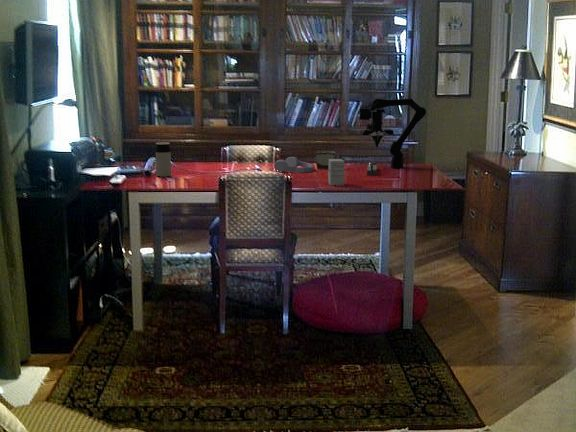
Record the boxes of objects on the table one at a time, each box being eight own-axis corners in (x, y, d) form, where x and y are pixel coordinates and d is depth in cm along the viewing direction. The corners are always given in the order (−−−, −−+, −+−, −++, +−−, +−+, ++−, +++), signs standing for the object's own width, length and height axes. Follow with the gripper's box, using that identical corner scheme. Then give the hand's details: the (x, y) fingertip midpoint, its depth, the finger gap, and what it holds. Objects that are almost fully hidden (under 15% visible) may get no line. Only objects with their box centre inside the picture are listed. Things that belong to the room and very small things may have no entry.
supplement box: (327, 183, 410) (328, 159, 408) (342, 183, 411) (342, 158, 409) (329, 185, 403) (330, 160, 401) (344, 185, 404) (344, 160, 401)
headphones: (272, 172, 450) (305, 176, 443) (272, 159, 448) (306, 163, 441) (286, 167, 470) (318, 171, 463) (287, 155, 469) (319, 159, 462)
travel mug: (168, 177, 429) (167, 143, 425) (154, 176, 430) (153, 143, 427) (173, 175, 437) (172, 142, 433) (159, 174, 438) (158, 141, 435)
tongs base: (367, 168, 465) (367, 162, 464) (375, 168, 465) (375, 162, 464) (367, 175, 438) (367, 168, 437) (375, 175, 437) (375, 169, 436)
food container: (336, 168, 466) (336, 150, 464) (335, 169, 460) (336, 152, 458) (315, 167, 467) (315, 150, 465) (314, 169, 461) (314, 151, 459)
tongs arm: (372, 168, 460) (372, 164, 460) (376, 168, 460) (376, 164, 459) (372, 174, 437) (372, 170, 436) (376, 175, 436) (376, 170, 436)
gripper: (387, 118, 472) (386, 145, 476) (357, 119, 468) (356, 146, 471) (394, 120, 462) (393, 147, 465) (363, 120, 458) (362, 148, 461)
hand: (376, 147), depth 466 cm, fingers closed
